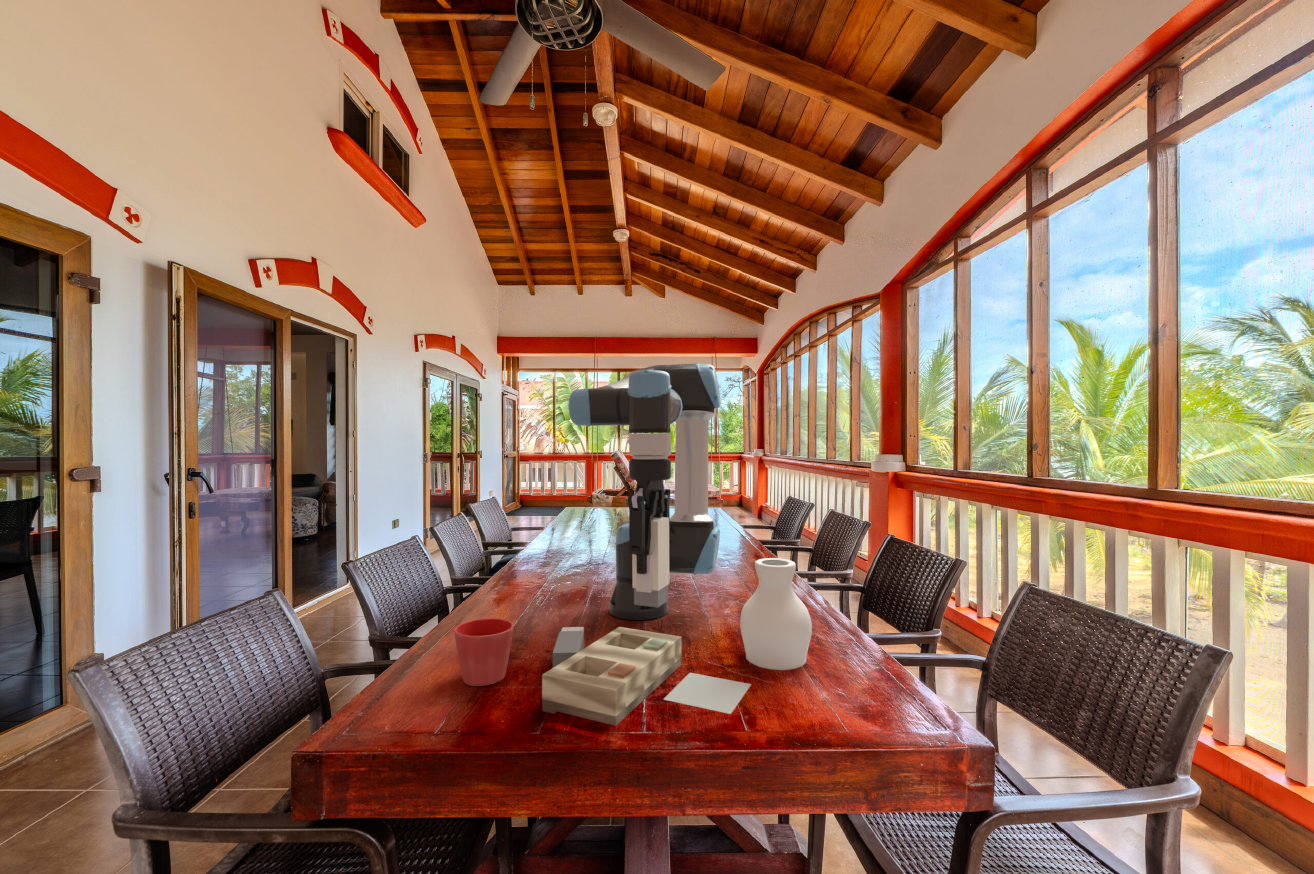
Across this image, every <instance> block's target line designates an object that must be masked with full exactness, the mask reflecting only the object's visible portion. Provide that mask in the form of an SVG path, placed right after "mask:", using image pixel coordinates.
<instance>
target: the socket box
mask: <svg viewBox="0 0 1314 874" xmlns="http://www.w3.org/2000/svg"><path fill="white" fill-rule="evenodd" d="M681 666H682V636H680V635H673V634H667V633H662V632H653V631H648V630H643V629H642V630H641V629H635V628H629V627H624V626H623V627H622V626H618V627H616V628H615V629H613V630H612V631H610V632H609V633H607V634H605V635H603V636H602V637H600V638H598V639H597V640H595V641H594V642H593V643H591V644H589V645H588V646H586V647H584V649H583V650H581V651H579V652H578V653H576V654H575V655H573V656H571V657H570V658H568V659H567V660H565V661H563V662H562V663H560V664H559V665H557V666H555V667H554V668H553V667H552V668H550V669H549V670H548V671H545V672H544V673H543V674H541V680H542V681H541V692H542V693H541V694H542V695H541V701H542V703H541V704H542V705H541V706H542V707H541V711H542V712H545V713H549V714H553V715H554V714H556V713H557V712H558V713H563V714H567V715H571V716H575V717H578V718H582V719H587V720H591V721H594V722H598V723H602V724H606V725H611V726H614V727H616V726H617V725H619V723H621V722H623V720H624V719H625V718H626V717H627V716H629V714H630V713H631V712H632V711H633V710H635V709H636V708H637V707H638V706H639V704H641V703H642V702H643V701H644V700H646V699H647V698H648V696H649V695H650V694H652V693H653V692H654V691H655V690H656V689H657V688H658V687H659V686H660V685H661V684H662V683H663V682H665V680H667V679H668V677H670V676H671V675H672V674H673V673H674V672H675V671H677V669H678V668H679V667H681Z"/></svg>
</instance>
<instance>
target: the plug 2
mask: <svg viewBox="0 0 1314 874" xmlns="http://www.w3.org/2000/svg"><path fill="white" fill-rule="evenodd" d="M649 554H652V592H651V593H647V592H639V591H636V554H632V585H633V588H634V605H642V606H649V607H657V608H658V607H660V606H661V605H662V604H664V603H665V602H666V601H667V602H668V601H669V584H670V573H669V518H666V517H661V518H656V517H653V519H652V521H651V540H650V551H649Z"/></svg>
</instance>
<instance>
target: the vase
mask: <svg viewBox="0 0 1314 874" xmlns="http://www.w3.org/2000/svg"><path fill="white" fill-rule="evenodd" d="M796 565H797V564H796V563H795V561H793V560H791V559H785V558H779V557H769V558H768V557H766V558H759V559H757V560H755V561H754V568H755V572H756V574H757V578H758V584H757V588H756V590H755V591H754V593H752V595H751V596H750V598H749V599H747V601H746V602H745V603H744V604H743V607H742V609H741V612H740V617H739V618H740V619H739V620H740V635H741V637H742V638H741V639H742V642H743V646H744V652H745V659H746V660H747V661H748V662H749V663H750V664H753V665H754V666H756V667H759V668H763V669H768V670H776V671H787V670H796V669H798V668H801V667H803V666H804V665H805V664H807V659H808V658H807V657H808V651H809V647H810V643H811V639H812V633H813V632H812V631H813V623H812V618H811V615H810V612H809V610H808V609H807V608H808V607H806V605H805V604H804V602H803V601H802V600H801V599H800V597H798V595H797V594H796V591H794V588H793V580H794V579H793V578H794V576H795V574H796V573H795V572H796V570H797V569H796Z"/></svg>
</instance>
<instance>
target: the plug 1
mask: <svg viewBox="0 0 1314 874" xmlns="http://www.w3.org/2000/svg"><path fill="white" fill-rule="evenodd" d="M584 637H585V627H584V626H565V627H564V626H563V627H562V628H561V631H559V633H558V635H557V638H556V641H555V644H554V647H553V651H552V668H554V667H555V666H557V665H559V664H560V663H562V662H563V661H565V660H567V659H568V658H570V657H571V656H573V655H575V654H576V653H578V652H579V651H581V650H583V649H584V648H585V638H584Z"/></svg>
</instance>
